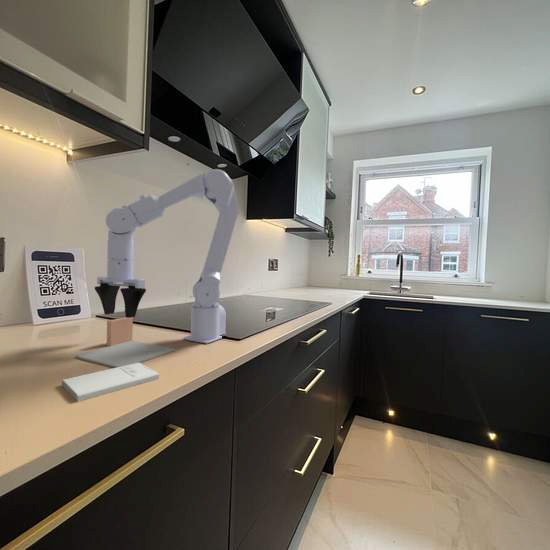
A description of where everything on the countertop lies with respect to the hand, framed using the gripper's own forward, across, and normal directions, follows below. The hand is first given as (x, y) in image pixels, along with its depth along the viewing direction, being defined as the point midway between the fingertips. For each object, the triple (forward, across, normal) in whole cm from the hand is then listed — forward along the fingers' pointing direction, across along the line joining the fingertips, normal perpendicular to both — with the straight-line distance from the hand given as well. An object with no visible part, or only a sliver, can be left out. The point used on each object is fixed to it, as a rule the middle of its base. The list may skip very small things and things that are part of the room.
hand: (119, 315), depth 73 cm
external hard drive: (+8, +20, -16) cm, 27 cm away
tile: (+7, 0, 0) cm, 7 cm away
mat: (+7, +9, -5) cm, 12 cm away
